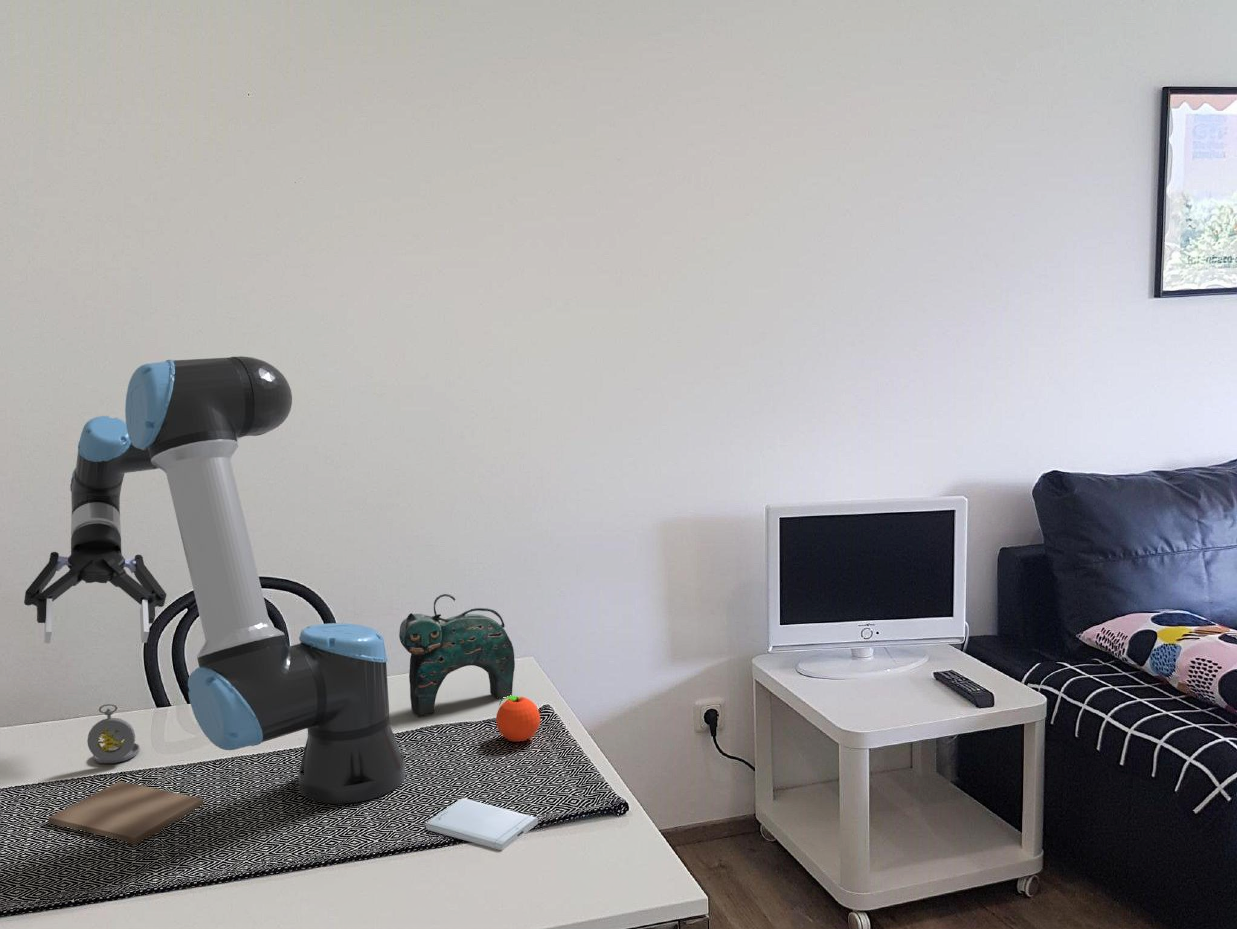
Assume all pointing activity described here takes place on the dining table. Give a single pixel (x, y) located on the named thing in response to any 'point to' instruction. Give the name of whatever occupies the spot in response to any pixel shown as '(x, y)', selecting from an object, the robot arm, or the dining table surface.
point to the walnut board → (126, 812)
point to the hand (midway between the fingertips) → (97, 637)
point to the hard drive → (482, 824)
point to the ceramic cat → (455, 653)
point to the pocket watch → (112, 739)
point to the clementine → (517, 718)
